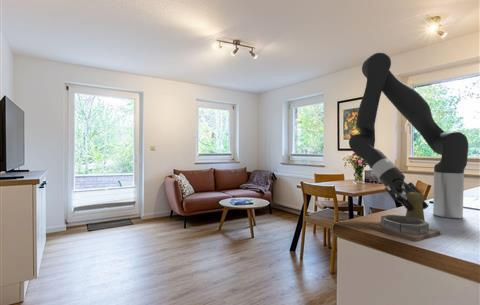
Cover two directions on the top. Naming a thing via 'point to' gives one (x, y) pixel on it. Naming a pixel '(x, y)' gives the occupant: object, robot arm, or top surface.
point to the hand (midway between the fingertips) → (419, 209)
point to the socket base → (405, 235)
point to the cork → (416, 205)
